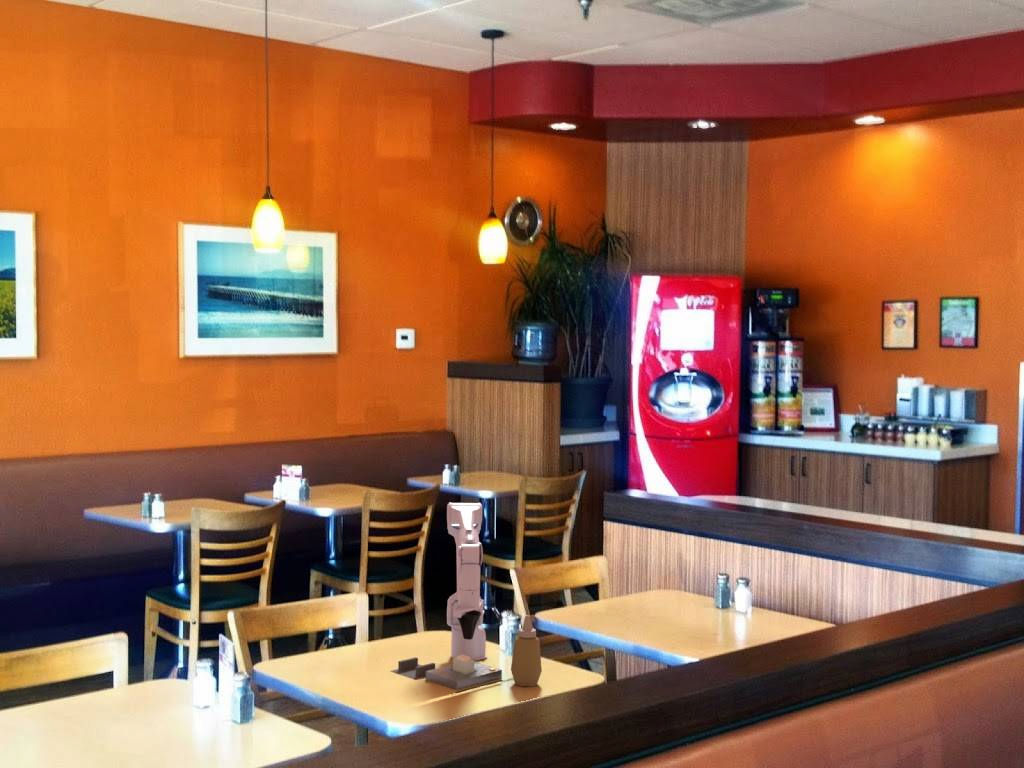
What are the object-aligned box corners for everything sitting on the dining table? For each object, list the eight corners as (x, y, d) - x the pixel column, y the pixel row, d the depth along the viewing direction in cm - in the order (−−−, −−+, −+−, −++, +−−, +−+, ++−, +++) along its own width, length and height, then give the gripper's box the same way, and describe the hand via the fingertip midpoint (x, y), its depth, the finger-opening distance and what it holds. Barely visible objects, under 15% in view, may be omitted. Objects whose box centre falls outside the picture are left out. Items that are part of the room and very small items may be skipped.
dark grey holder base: (418, 667, 343) (418, 655, 343) (443, 675, 336) (443, 662, 336) (390, 674, 336) (390, 661, 336) (414, 682, 329) (414, 669, 329)
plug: (461, 678, 333) (461, 653, 333) (473, 683, 329) (474, 657, 329) (452, 680, 331) (453, 655, 331) (465, 685, 327) (465, 659, 327)
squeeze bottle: (542, 680, 333) (544, 612, 332) (540, 689, 325) (541, 620, 324) (512, 678, 334) (513, 611, 333) (508, 687, 326) (510, 618, 325)
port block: (470, 671, 340) (470, 659, 340) (501, 681, 332) (501, 668, 331) (425, 682, 329) (425, 670, 329) (456, 693, 320) (457, 680, 320)
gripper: (467, 581, 345) (466, 630, 346) (443, 591, 332) (442, 643, 332) (491, 584, 342) (490, 634, 343) (467, 594, 329) (466, 646, 330)
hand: (468, 638), depth 337 cm, fingers closed
